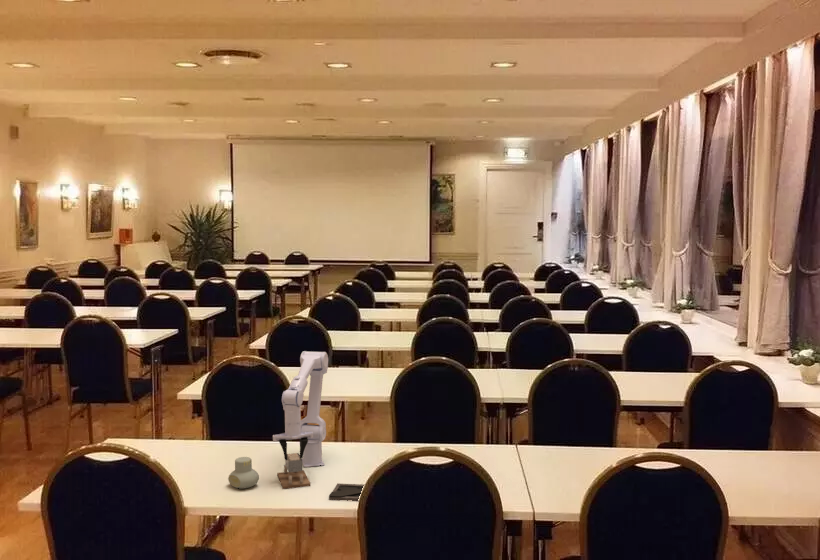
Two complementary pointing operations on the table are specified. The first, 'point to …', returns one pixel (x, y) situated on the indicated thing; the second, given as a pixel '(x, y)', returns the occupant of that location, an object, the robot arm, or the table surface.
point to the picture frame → (346, 492)
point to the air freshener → (243, 474)
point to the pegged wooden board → (293, 479)
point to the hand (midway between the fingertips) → (293, 458)
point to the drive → (294, 462)
